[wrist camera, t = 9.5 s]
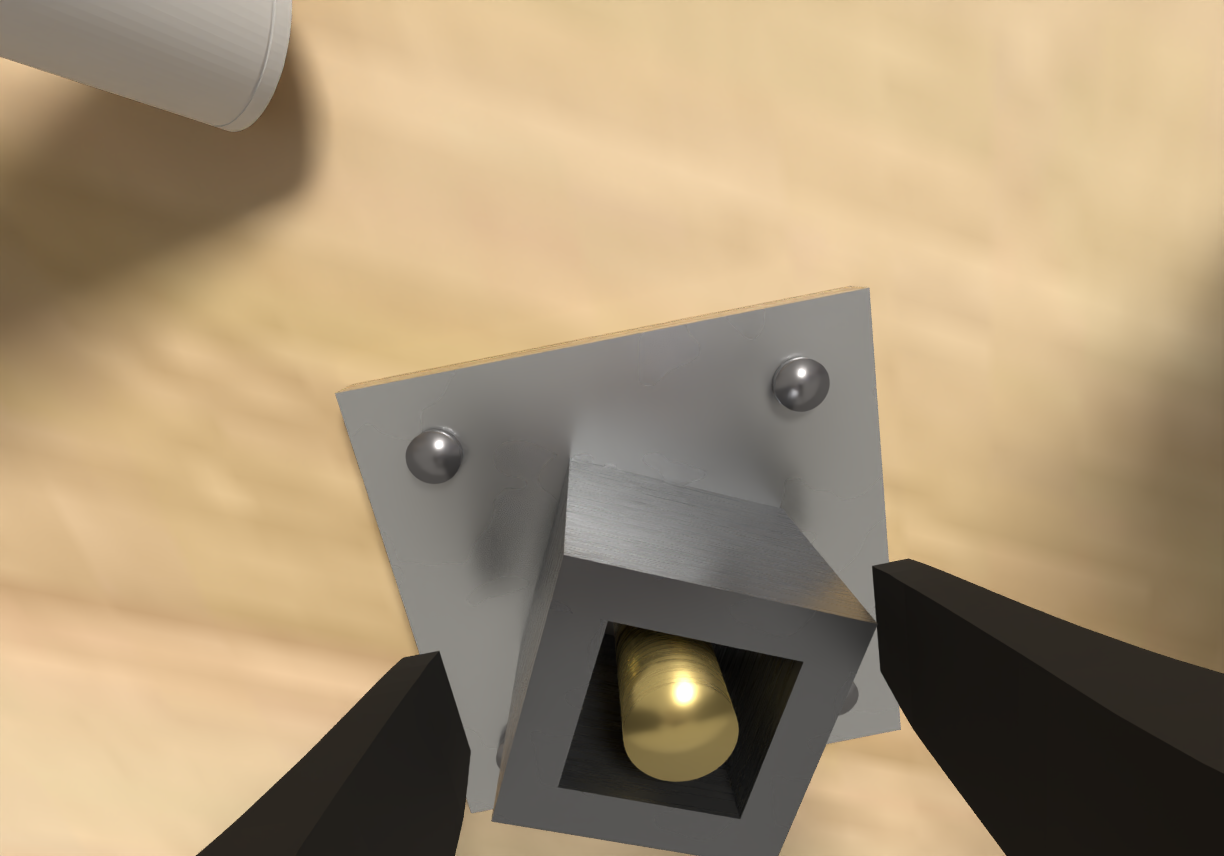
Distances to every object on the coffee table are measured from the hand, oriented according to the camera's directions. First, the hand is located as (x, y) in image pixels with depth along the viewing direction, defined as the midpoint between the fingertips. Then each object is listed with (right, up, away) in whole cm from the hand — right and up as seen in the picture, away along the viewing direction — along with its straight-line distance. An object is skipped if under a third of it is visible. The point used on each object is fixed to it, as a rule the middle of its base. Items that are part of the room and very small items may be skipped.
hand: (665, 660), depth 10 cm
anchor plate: (0, +1, +3) cm, 3 cm away
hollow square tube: (0, +1, +3) cm, 3 cm away
